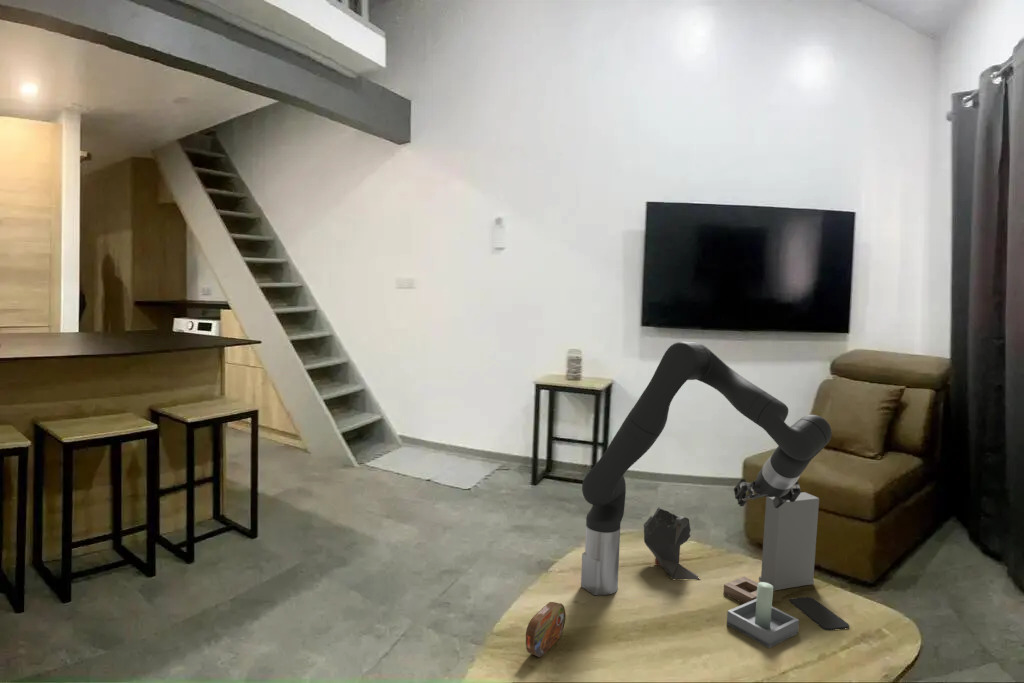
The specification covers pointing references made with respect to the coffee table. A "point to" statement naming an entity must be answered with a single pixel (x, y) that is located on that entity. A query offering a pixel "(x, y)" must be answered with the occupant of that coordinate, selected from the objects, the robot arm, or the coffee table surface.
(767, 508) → the tall grey upright box
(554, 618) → the tin
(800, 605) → the phone
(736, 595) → the brown hollow square block
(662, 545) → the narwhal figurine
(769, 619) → the pale green rounded cylinder
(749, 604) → the tray
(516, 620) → the coffee table surface
